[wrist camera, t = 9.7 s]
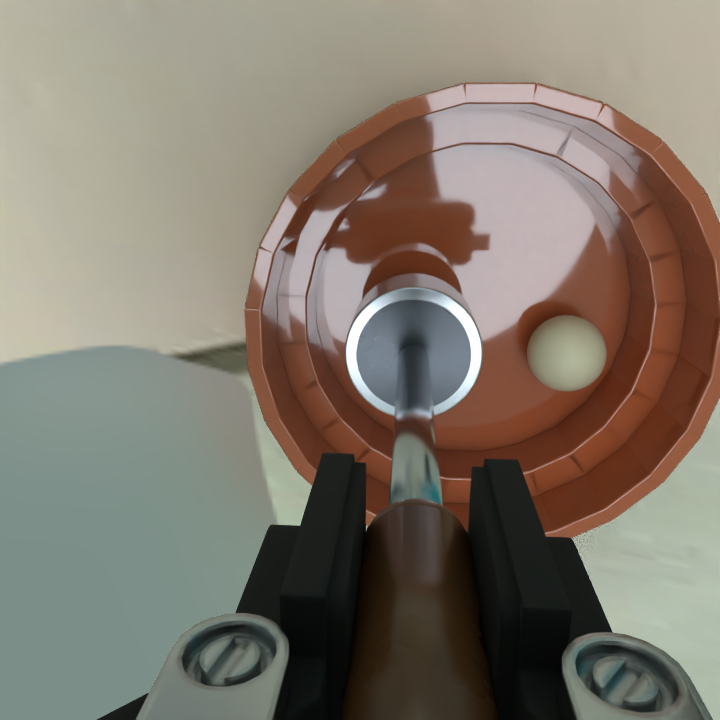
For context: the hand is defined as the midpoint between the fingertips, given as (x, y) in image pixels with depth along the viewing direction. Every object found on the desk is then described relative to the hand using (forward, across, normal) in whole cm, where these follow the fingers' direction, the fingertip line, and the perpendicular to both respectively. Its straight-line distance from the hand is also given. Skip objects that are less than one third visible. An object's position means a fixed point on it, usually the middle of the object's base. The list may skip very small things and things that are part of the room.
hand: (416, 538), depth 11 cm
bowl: (+18, -2, 0) cm, 18 cm away
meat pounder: (+14, 0, 0) cm, 14 cm away
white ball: (+17, -6, +1) cm, 18 cm away
